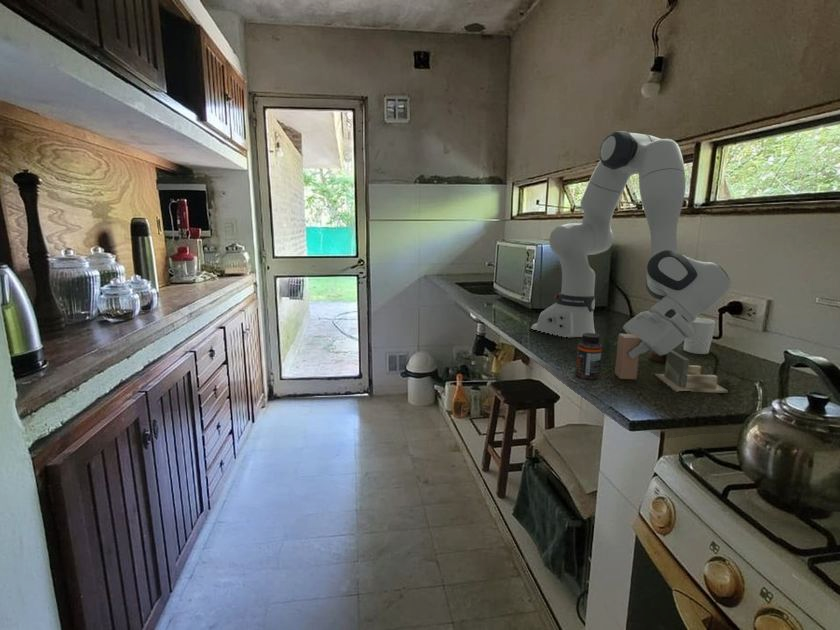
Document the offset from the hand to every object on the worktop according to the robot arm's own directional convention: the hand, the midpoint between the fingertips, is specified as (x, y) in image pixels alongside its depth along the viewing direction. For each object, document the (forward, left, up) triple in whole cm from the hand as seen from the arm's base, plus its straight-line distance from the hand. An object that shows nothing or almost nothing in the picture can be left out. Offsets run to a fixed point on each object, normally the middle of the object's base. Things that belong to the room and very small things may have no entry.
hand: (625, 352), depth 114 cm
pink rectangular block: (+1, 0, -6) cm, 6 cm away
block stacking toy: (+15, +4, -6) cm, 16 cm away
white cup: (+13, +38, -7) cm, 41 cm away
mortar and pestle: (+6, +22, -7) cm, 24 cm away
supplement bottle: (-7, -6, -7) cm, 11 cm away
